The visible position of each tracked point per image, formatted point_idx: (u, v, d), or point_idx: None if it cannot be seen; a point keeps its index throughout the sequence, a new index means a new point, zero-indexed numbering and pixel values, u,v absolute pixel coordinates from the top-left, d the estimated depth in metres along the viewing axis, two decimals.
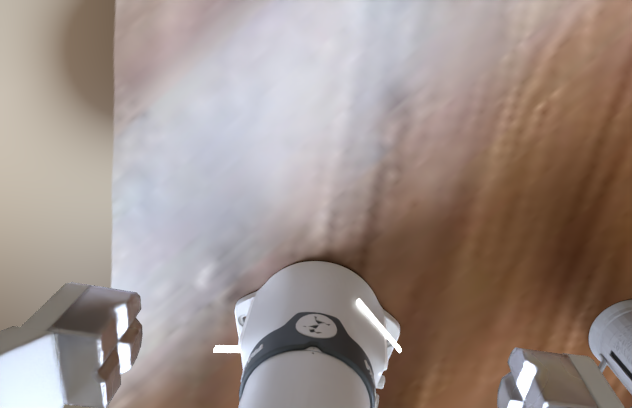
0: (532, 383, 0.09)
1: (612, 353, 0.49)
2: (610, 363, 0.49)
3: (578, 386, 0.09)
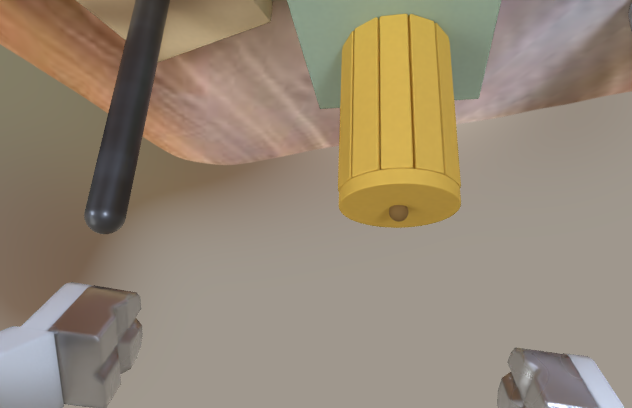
0: (532, 383, 0.09)
1: None
2: None
3: (578, 386, 0.09)
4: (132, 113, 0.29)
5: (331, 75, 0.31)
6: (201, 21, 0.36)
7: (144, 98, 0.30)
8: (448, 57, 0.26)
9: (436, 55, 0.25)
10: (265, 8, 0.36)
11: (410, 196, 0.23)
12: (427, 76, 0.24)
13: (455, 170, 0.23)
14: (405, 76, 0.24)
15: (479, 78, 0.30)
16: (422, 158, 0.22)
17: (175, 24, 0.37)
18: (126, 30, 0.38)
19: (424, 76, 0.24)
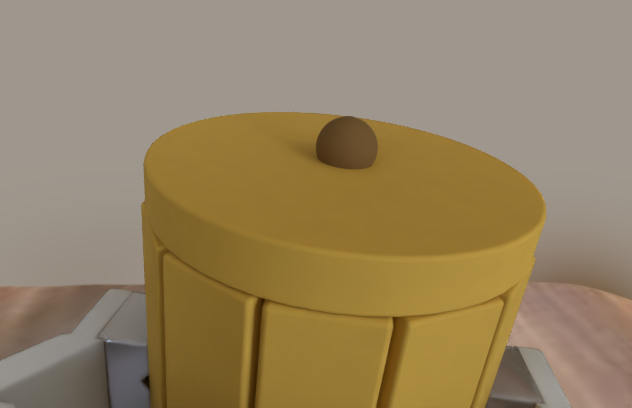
0: None
1: None
2: None
3: (523, 378, 0.09)
4: None
5: None
6: None
7: None
8: None
9: None
10: None
11: (298, 187, 0.06)
12: None
13: (146, 250, 0.07)
14: None
15: None
16: (224, 328, 0.06)
17: None
18: None
19: None
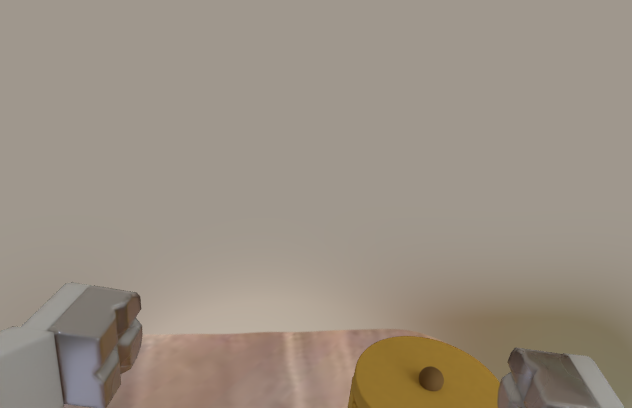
0: (532, 383, 0.09)
1: None
2: None
3: (578, 386, 0.09)
4: None
5: None
6: None
7: None
8: None
9: None
10: None
11: None
12: None
13: None
14: None
15: None
16: None
17: None
18: None
19: None
